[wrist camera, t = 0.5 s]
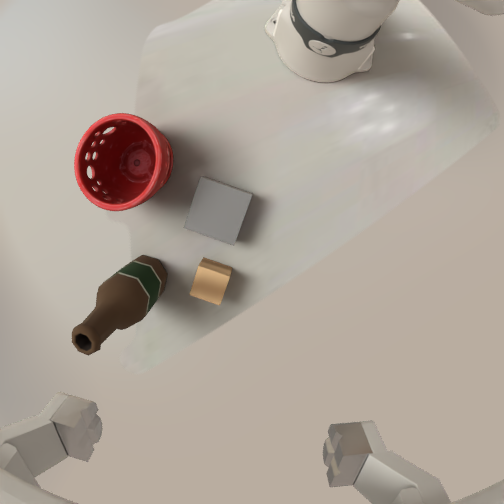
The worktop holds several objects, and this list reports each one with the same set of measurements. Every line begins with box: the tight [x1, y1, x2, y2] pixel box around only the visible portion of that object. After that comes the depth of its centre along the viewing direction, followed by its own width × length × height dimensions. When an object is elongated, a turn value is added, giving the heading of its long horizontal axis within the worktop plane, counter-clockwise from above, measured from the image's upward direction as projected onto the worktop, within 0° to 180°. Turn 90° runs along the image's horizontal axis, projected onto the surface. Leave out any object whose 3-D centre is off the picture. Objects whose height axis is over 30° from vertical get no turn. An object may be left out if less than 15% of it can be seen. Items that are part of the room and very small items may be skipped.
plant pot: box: [74, 113, 173, 211], centre depth 42 cm, size 13×13×12 cm
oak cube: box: [189, 257, 232, 305], centre depth 50 cm, size 5×5×5 cm
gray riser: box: [184, 177, 252, 246], centre depth 48 cm, size 8×8×4 cm
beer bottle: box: [72, 255, 167, 355], centre depth 41 cm, size 8×8×24 cm
